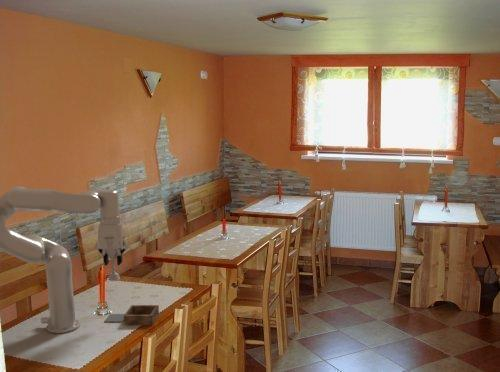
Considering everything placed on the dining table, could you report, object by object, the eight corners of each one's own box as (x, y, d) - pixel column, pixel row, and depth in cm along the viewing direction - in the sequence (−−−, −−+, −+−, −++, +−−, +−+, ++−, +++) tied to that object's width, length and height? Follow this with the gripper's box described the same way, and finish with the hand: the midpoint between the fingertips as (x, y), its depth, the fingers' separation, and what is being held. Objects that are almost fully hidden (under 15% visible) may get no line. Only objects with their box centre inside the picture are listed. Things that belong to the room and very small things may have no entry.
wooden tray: (124, 325, 228) (123, 315, 227) (132, 314, 239) (131, 305, 238) (152, 325, 227) (152, 315, 226) (159, 314, 238) (158, 305, 238)
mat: (104, 322, 231) (104, 321, 231) (110, 314, 239) (110, 314, 239) (123, 322, 231) (123, 321, 231) (128, 314, 238) (128, 313, 238)
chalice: (120, 281, 228) (117, 238, 226) (103, 281, 229) (100, 238, 226) (124, 275, 236) (121, 233, 233) (108, 276, 236) (105, 234, 233)
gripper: (86, 223, 225) (89, 267, 228) (128, 222, 224) (131, 267, 227) (92, 218, 233) (95, 261, 235) (133, 218, 231) (135, 261, 234)
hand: (113, 263), depth 231 cm, fingers closed on chalice, 4 cm apart
